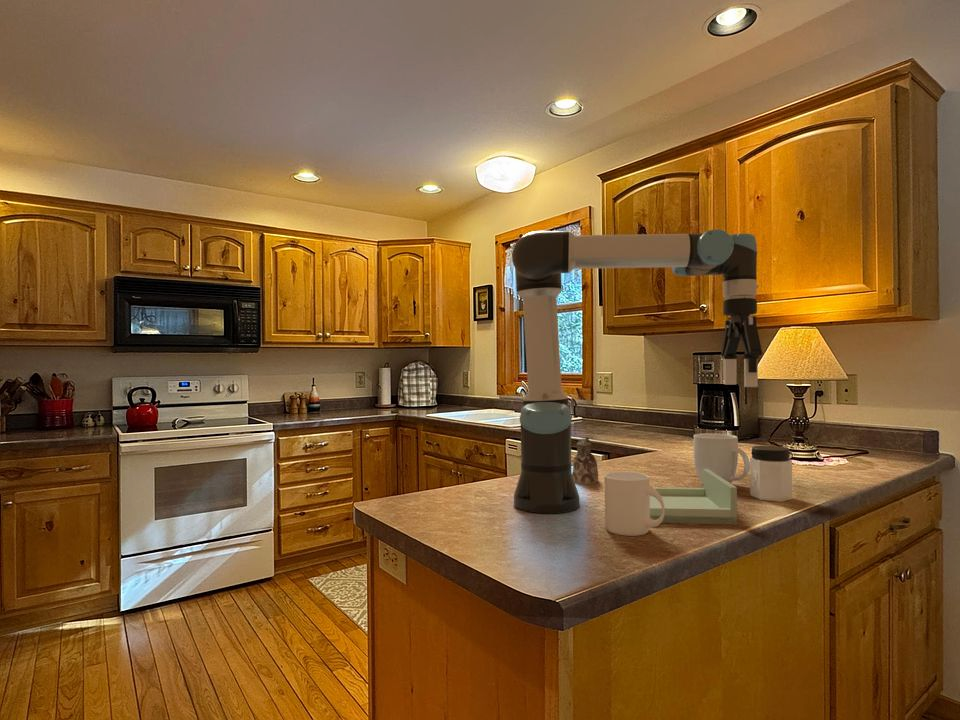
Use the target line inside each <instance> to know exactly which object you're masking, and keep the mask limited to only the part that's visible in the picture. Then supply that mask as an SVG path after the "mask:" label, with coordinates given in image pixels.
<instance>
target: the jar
mask: <svg viewBox="0 0 960 720" xmlns="http://www.w3.org/2000/svg"><path fill="white" fill-rule="evenodd" d="M790 451H791V450H790V449H789V448H788V447H784V446H777V445H754V446H752V447H751V457H749V462H750V470H749V480H750V484H749V485H750V489H749V490H750V496H751V497H753V498H755V499H757V500H760V501H766V502H779V503H782V502H787V501H790V500H792V499H793V460H792V459H791V458H790V457H791V456H790V455H791V453H790Z"/></svg>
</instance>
